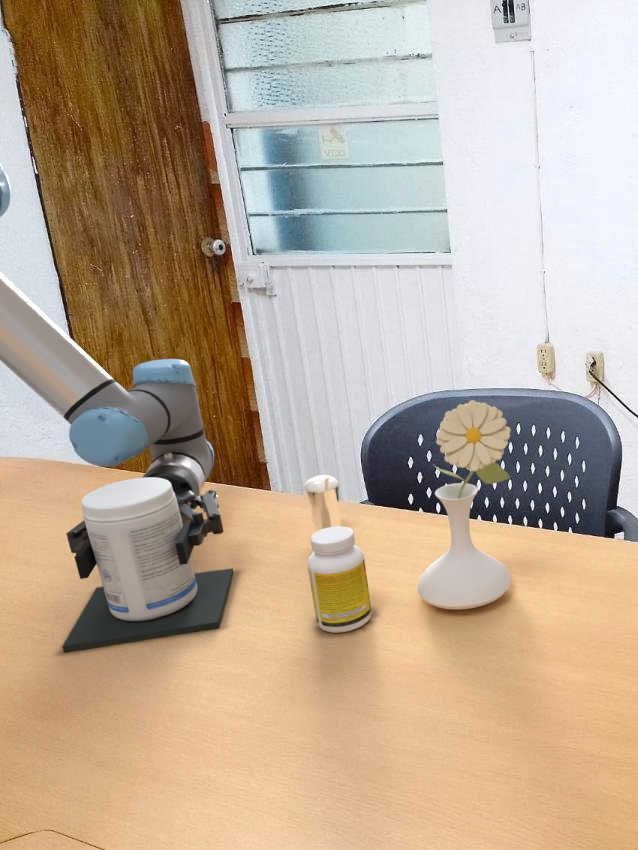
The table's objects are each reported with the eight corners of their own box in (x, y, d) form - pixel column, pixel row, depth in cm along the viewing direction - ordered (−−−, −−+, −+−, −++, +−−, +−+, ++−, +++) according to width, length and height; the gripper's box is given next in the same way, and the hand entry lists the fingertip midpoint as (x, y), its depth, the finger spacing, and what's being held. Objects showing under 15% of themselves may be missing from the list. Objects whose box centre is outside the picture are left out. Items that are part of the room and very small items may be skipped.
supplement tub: (205, 579, 105) (182, 472, 100) (190, 617, 97) (164, 501, 92) (121, 590, 103) (94, 481, 98) (98, 630, 94) (67, 512, 89)
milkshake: (320, 549, 115) (310, 482, 111) (308, 536, 119) (297, 471, 115) (352, 540, 117) (343, 474, 114) (339, 527, 121) (330, 463, 118)
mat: (63, 652, 92) (61, 646, 91) (97, 593, 104) (96, 587, 104) (219, 627, 96) (217, 621, 96) (233, 573, 108) (232, 567, 108)
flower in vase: (400, 611, 98) (376, 410, 90) (445, 567, 108) (427, 383, 100) (502, 627, 94) (487, 418, 86) (538, 580, 105) (528, 389, 96)
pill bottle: (383, 617, 97) (372, 532, 93) (337, 640, 93) (324, 551, 89) (351, 601, 101) (340, 518, 97) (306, 623, 96) (292, 536, 93)
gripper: (72, 474, 109) (10, 545, 89) (251, 453, 115) (231, 516, 95) (86, 525, 112) (28, 606, 92) (260, 503, 117) (242, 574, 97)
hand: (131, 560), depth 93 cm, fingers closed on supplement tub, 9 cm apart
